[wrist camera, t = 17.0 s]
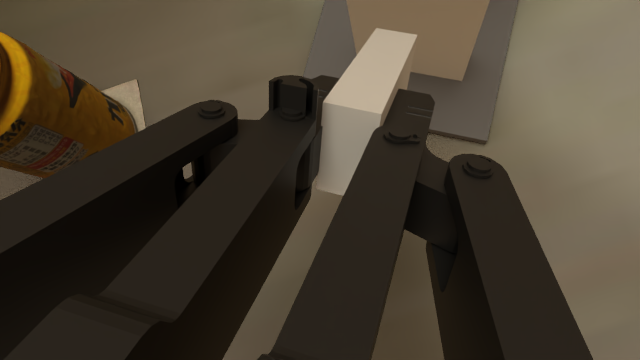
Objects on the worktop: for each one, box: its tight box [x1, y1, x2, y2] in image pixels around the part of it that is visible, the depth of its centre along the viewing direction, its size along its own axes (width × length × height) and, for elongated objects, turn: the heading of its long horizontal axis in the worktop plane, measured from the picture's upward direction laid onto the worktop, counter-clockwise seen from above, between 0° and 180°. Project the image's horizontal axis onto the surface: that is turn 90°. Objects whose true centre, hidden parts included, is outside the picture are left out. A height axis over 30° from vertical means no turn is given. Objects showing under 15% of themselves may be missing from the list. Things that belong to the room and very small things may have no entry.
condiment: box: [0, 32, 146, 179], centre depth 24 cm, size 7×8×12 cm
